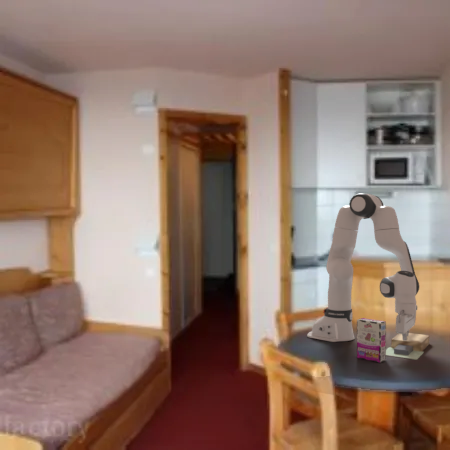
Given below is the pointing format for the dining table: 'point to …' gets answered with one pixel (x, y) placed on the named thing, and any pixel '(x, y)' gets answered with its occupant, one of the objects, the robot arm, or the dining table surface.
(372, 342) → the candy bar box
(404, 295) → the robot arm
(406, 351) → the grey flat block
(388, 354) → the mat
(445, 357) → the dining table surface
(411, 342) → the square wooden plank
